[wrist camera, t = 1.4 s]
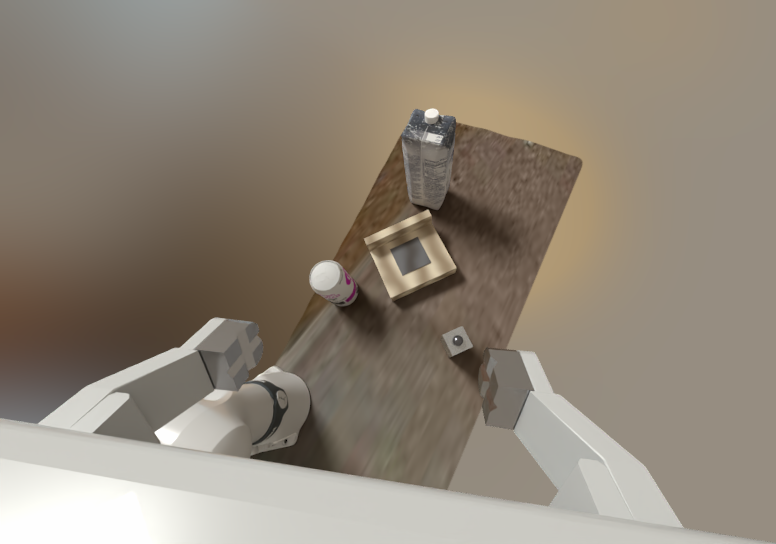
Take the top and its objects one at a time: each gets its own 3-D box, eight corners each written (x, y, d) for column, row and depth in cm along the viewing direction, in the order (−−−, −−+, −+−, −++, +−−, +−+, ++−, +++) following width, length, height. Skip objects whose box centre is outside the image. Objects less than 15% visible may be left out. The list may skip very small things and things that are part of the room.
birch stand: (392, 301, 72) (388, 294, 65) (370, 250, 78) (363, 238, 70) (455, 272, 72) (458, 262, 65) (428, 224, 78) (428, 209, 71)
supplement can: (351, 272, 77) (334, 251, 63) (363, 298, 74) (348, 282, 60) (325, 285, 77) (302, 268, 62) (336, 312, 74) (314, 299, 60)
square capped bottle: (448, 357, 66) (453, 355, 54) (440, 339, 68) (442, 334, 56) (465, 349, 66) (474, 346, 54) (456, 332, 68) (462, 325, 56)
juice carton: (440, 214, 78) (445, 143, 53) (406, 204, 81) (395, 131, 56) (451, 189, 81) (461, 108, 55) (417, 180, 83) (412, 99, 58)
